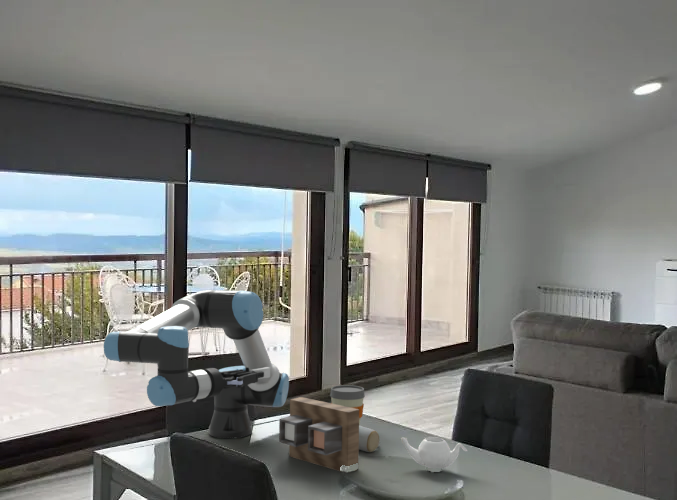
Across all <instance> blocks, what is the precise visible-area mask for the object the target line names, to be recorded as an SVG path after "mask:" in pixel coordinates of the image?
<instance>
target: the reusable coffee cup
mask: <svg viewBox="0 0 677 500" xmlns="http://www.w3.org/2000/svg"><path fill="white" fill-rule="evenodd" d="M329 397H330V398H331V404H336V405H341V406H345V407H350V408H355V409H359V425H360V426H361V419H362V417H363V413H364V405H365V404H364V398H365V388H364V387H363V386H358V385H351V384H349V385H348V384H347V385H346V384H343V385H341V384H339V385H334V386H332V387H331V388H330V394H329Z"/></svg>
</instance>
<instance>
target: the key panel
mask: <svg viewBox="0 0 677 500" xmlns="http://www.w3.org/2000/svg"><path fill="white" fill-rule="evenodd" d="M331 403H332V402H331ZM331 403H330V402H326V401H322V400H316V399H312V398H307V397H302V396H299V397H295V398H291V399H289V416H285V417H281V418H279V420H278V421H279V425H278V426H279V429H278V430H279V432H278V433H279V434H278V441H279V442H278V443H281V444H284V445H288V446H289V447H288V449H289V453H288V455H289V456H288V457H290V458H293V459H297V460H300V461H304V462H308V463H311V464H315V465H318V466H319V467H324V468H328V469H331V470H335V471H338V472H341V471H340V467H341V466H342V465H345V466H350V465H353V464H356V463H358V464H359V459H360V458H359V453H360V450H359V409H355V408H350V407H345V406H341V405H336V404H331ZM285 423H288V424H292V425H295V427H294V441H292V440H289V439H285ZM314 430H316V431H320V432H324V449H322V448H318V447H314Z"/></svg>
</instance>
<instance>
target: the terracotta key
mask: <svg viewBox="0 0 677 500" xmlns="http://www.w3.org/2000/svg"><path fill="white" fill-rule="evenodd" d="M314 447H318V448H322V449H324V432H320V431H316V430H314Z"/></svg>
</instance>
